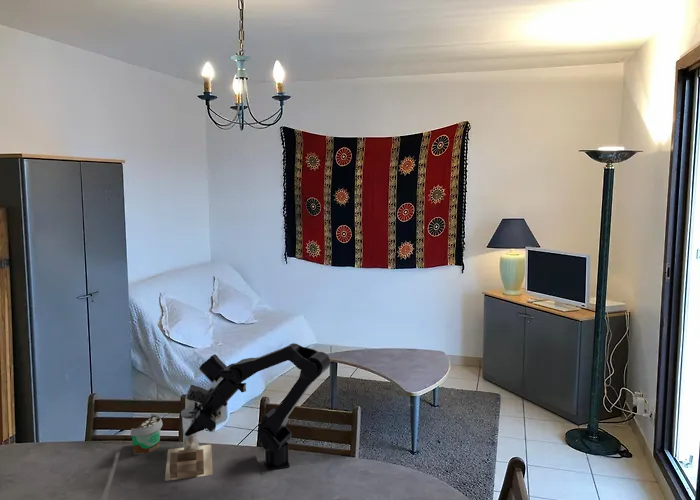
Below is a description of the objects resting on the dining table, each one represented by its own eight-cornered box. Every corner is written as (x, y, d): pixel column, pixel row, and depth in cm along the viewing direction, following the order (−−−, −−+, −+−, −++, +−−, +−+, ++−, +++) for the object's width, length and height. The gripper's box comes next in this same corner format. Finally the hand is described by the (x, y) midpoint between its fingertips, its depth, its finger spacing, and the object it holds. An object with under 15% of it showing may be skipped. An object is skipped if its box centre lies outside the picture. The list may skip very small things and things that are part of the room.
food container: (150, 462, 170) (148, 431, 169) (131, 460, 171) (130, 429, 170) (170, 444, 182) (169, 414, 181) (153, 442, 183) (152, 412, 182)
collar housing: (211, 449, 179) (210, 432, 178) (212, 479, 161) (212, 461, 160) (168, 454, 176) (167, 437, 175) (164, 485, 157) (164, 467, 157)
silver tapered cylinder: (199, 447, 175) (198, 406, 173) (200, 454, 170) (198, 413, 168) (183, 449, 174) (181, 408, 172) (182, 457, 169) (180, 415, 167)
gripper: (202, 366, 179) (167, 404, 177) (202, 387, 161) (163, 429, 160) (228, 388, 182) (193, 425, 180) (231, 411, 164) (193, 452, 162)
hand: (185, 431), depth 171 cm, fingers closed on silver tapered cylinder, 4 cm apart
